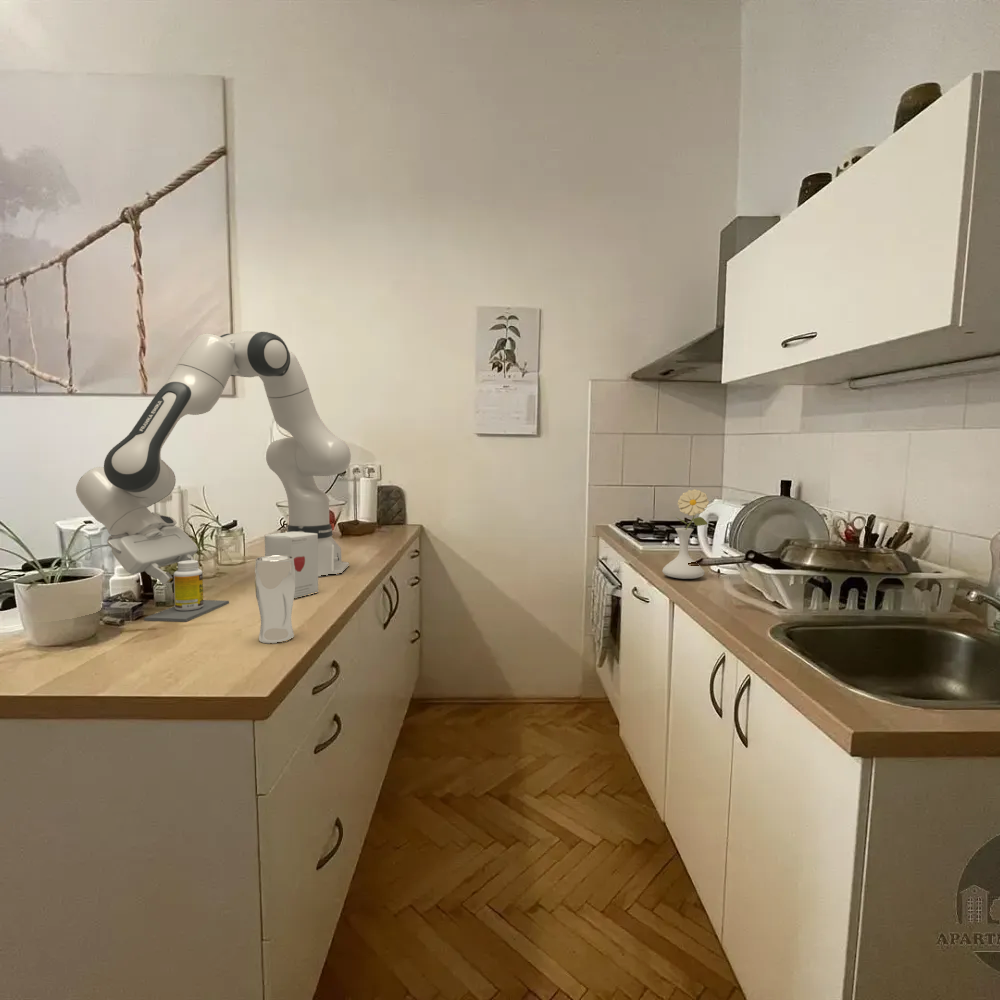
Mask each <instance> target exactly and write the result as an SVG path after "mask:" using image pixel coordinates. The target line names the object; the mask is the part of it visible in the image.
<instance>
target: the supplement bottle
mask: <svg viewBox="0 0 1000 1000" xmlns="http://www.w3.org/2000/svg"><path fill="white" fill-rule="evenodd" d="M198 568H199V560H195V559H194V560H186V561H180V562H178V563H177V570H176V571H174V573H173V592H174V593H173V596H174V597H173V598H174V606H175V609H176V610H179V611H190V610H196V609H200V608H201V607H203V600H204V581H203V580H204V578H203V577H204V576H203V575H204V574H203V573H204V572H203V571H202V569H200V568H199V569H198Z"/></svg>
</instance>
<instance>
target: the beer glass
mask: <svg viewBox="0 0 1000 1000" xmlns="http://www.w3.org/2000/svg"><path fill="white" fill-rule="evenodd" d="M254 589H255V590H254V591H255V596H256V601H257V607H258V610H259V615H260V616H259V617H260V628H259V634H258V635H259V636H258V641H259V642H260V643H263V644H270V643H272V644H278V643H277V642H282V641H286V640H289V639H291V638H293V637H294V638H295V634H294V633H295V632H294V628H293V625H292V611H293V606H294V600H295V599H294V594H295V566H294V557H293V556H289V555H271V556H265V555H264V556H259V557H256V558H255V565H254ZM294 638H293V639H294ZM289 641H290V640H289ZM286 642H287V641H286ZM282 643H283V642H282Z"/></svg>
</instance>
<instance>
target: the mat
mask: <svg viewBox="0 0 1000 1000" xmlns="http://www.w3.org/2000/svg"><path fill="white" fill-rule="evenodd" d="M229 604H230V600H218V599H217V600H216V599H214V600H211V599H209V600H208V599H203V607H201V608H200V609H196V610H190V611H179V610H176V609H175V605H174V606H171V607H169V608H167V609H164V610H161V611H157V612H155V613H153V614H150V615H148V616H145V617H144V621H146V622H147V621H148V622H149V621H150V622H174V623H175V622H180V623H186V622H189V621H192V620H194V619H195V618H199V617H201V616H203V615H205V614H208V613H210V612H212V611H215V610H217V609H219V608H221V607H223V606H227V605H229Z"/></svg>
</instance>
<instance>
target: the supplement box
mask: <svg viewBox="0 0 1000 1000" xmlns="http://www.w3.org/2000/svg"><path fill="white" fill-rule="evenodd" d="M271 555H289V556H293V557H294V566H295V594H294V598H297V597H301V596H304V595H308V594H311V593H315V592H318V593H319V576H318V534H317V533H305V532H294V531H293V532H287V531H286V532H277V533H276V532H275V533H269V534H265V535H264V556H271ZM301 598H302V597H301ZM297 599H298V598H297Z"/></svg>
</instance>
